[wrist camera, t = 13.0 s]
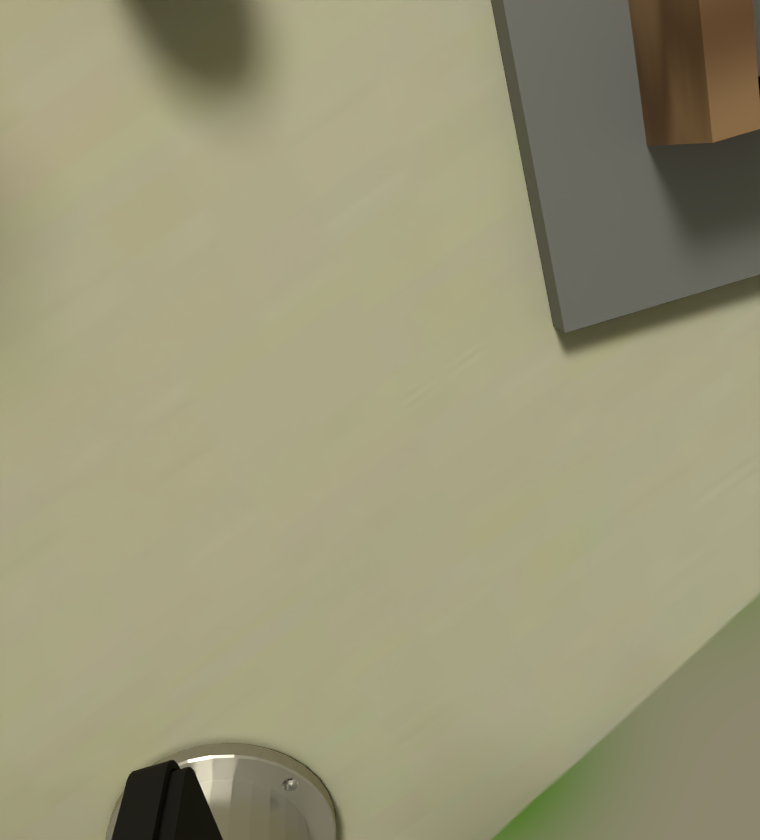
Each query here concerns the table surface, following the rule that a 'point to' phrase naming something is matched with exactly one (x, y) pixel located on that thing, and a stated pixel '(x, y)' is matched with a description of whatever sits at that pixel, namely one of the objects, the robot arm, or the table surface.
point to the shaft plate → (618, 170)
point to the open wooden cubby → (696, 69)
